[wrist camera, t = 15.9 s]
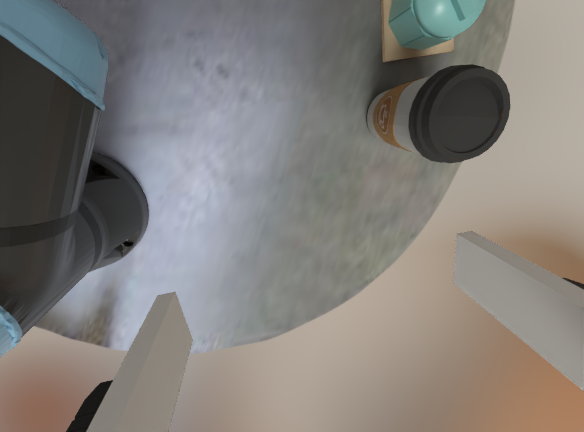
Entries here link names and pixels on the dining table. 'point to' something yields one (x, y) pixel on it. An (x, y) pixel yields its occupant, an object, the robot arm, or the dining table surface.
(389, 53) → the coaster
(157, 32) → the dining table surface
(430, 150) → the coffee cup
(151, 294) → the dining table surface
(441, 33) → the cap
